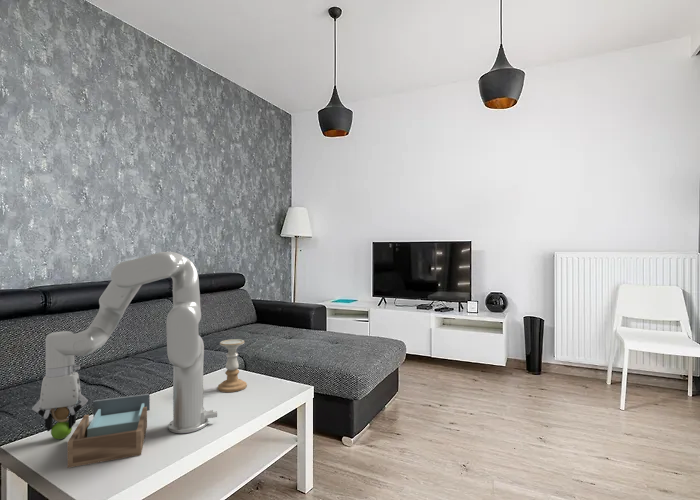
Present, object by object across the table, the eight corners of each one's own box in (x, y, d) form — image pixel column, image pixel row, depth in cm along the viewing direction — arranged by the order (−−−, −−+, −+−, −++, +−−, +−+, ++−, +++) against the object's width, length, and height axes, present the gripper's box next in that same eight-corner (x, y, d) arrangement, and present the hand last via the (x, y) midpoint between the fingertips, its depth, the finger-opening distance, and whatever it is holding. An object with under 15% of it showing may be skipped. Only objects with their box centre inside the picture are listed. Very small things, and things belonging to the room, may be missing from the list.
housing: (84, 436, 129) (84, 415, 129) (147, 427, 136) (147, 406, 136) (67, 467, 110) (67, 442, 110) (140, 454, 117) (140, 430, 117)
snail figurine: (56, 434, 131) (56, 397, 131) (75, 434, 131) (75, 397, 131) (43, 442, 125) (43, 403, 126) (63, 442, 125) (63, 404, 125)
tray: (94, 416, 142) (94, 400, 142) (149, 409, 148) (149, 393, 148) (81, 440, 124) (81, 421, 124) (144, 430, 131) (144, 412, 131)
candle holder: (238, 381, 184) (238, 337, 184) (252, 388, 175) (251, 341, 175) (212, 387, 176) (212, 341, 176) (225, 394, 167) (225, 346, 167)
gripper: (94, 364, 135) (94, 419, 135) (31, 371, 129) (32, 427, 128) (89, 370, 128) (89, 427, 128) (23, 377, 122) (23, 437, 121)
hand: (60, 427), depth 128 cm, fingers closed on snail figurine, 5 cm apart
